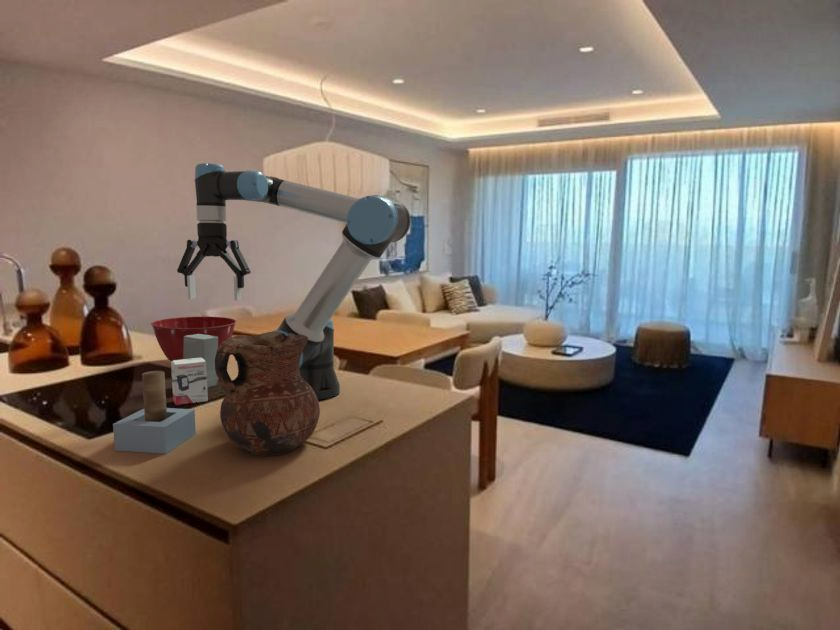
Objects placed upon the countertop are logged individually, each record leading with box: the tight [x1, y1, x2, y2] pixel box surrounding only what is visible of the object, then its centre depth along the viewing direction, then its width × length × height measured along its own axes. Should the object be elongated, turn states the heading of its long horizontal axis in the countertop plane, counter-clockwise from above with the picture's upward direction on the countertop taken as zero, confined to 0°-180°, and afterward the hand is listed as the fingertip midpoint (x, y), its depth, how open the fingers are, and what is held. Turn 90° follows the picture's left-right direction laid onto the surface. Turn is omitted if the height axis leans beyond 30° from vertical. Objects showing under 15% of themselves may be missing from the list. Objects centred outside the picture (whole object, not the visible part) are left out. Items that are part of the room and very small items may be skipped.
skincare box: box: [183, 334, 218, 389], centre depth 169 cm, size 8×7×16 cm
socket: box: [112, 407, 197, 455], centre depth 124 cm, size 12×12×6 cm
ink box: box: [170, 358, 209, 406], centre depth 153 cm, size 8×5×12 cm, turn 123°
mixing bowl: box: [150, 316, 237, 362], centre depth 198 cm, size 28×28×16 cm
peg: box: [141, 370, 167, 422], centre depth 123 cm, size 4×4×16 cm
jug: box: [215, 331, 321, 457], centre depth 121 cm, size 22×21×25 cm
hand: (214, 299), depth 153 cm, fingers open, 13 cm apart
